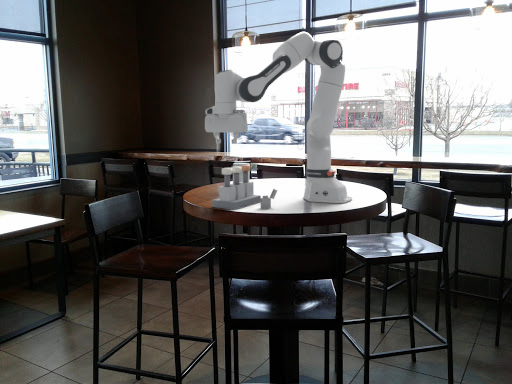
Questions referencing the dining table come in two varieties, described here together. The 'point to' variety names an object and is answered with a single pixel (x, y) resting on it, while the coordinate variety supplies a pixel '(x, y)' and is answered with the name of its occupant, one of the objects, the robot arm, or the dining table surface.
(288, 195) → the dining table surface
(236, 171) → the knob mid
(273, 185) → the dining table surface
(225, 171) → the knob
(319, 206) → the dining table surface
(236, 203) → the mount plate
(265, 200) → the lighter
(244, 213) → the dining table surface
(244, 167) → the knob
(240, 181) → the skincare box
